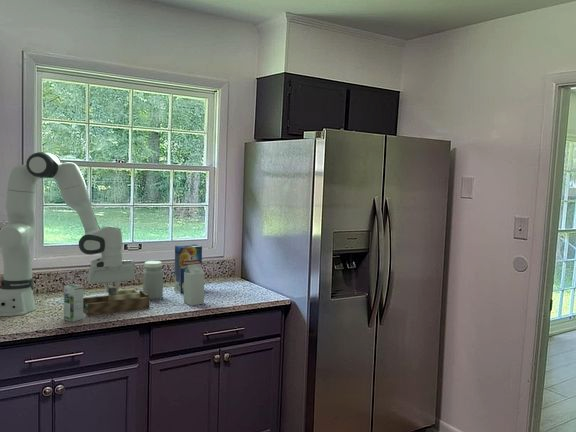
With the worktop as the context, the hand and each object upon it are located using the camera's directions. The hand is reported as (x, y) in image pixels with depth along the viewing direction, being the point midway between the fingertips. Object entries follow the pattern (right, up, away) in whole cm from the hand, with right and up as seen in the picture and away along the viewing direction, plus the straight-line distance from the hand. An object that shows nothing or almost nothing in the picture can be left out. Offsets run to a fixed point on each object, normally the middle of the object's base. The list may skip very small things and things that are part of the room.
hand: (111, 291), depth 236 cm
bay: (+1, -8, +2) cm, 8 cm away
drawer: (+4, -7, +4) cm, 9 cm away
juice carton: (+27, -6, +39) cm, 48 cm away
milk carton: (+34, -8, +15) cm, 38 cm away
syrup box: (-10, -10, -17) cm, 22 cm away
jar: (+13, -7, +23) cm, 27 cm away
